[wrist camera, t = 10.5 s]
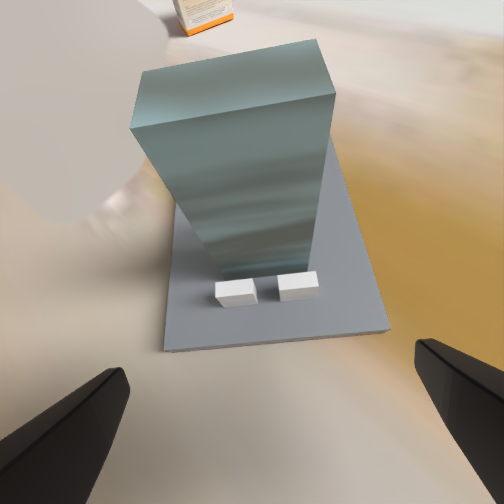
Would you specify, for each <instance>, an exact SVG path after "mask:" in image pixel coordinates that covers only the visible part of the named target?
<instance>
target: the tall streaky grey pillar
mask: <svg viewBox="0 0 504 504" xmlns="http://www.w3.org/2000/svg"><path fill="white" fill-rule="evenodd" d="M335 96H336V91H335V89H334V86H333V83H332V81H331V78H330V75H329V73H328V70H327V67H326V65H325V62H324V59H323V57H322V54H321V51H320V49H319V46H318V43H317V41H316V39H311V40H306V41H301V42H295V43H290V44H285V45H280V46H275V47H269V48H264V49H259V50H254V51H249V52H243V53H238V54H233V55H228V56H223V57H217V58H212V59H207V60H202V61H196V62H191V63H186V64H181V65H176V66H170V67H165V68H160V69H155V70H150V71H144V72H142V76H141V81H140V85H139V90H138V94H137V98H136V103H135V107H134V112H133V116H132V121H131V125H130V130H131V132H132V133H133V135H134V136H135V138H136V139H137V141H138V142H139V144H140V146H141V147H142V149H143V150H144V152H145V154H146V155H147V157H148V158H149V160H150V161H151V163H152V165H153V166H154V168H155V169H156V171H157V173H158V174H159V176H160V177H161V179H162V180H163V182H164V184H165V185H166V187H167V188H168V190H169V191H170V193H171V195H172V196H173V198H174V199H175V201H176V202H177V204H178V206H179V207H180V209H181V210H182V212H183V214H184V215H185V217H186V218H187V220H188V221H189V223H190V225H191V226H192V228H193V229H194V231H195V232H196V234H197V236H198V237H199V239H200V240H201V242H202V244H203V245H204V247H205V248H206V250H207V251H208V253H209V255H210V256H211V258H212V259H213V261H214V262H215V264H216V266H217V267H218V269H219V270H220V272H221V273H222V275H223V277H224V278H225V280H226V281H233V280H241V279H250V278H259V277H268V276H276V275H285V274H294V273H302V272H307V271H308V264H309V258H310V252H311V246H312V239H313V233H314V227H315V221H316V214H317V208H318V202H319V196H320V190H321V183H322V177H323V171H324V165H325V158H326V152H327V146H328V140H329V134H330V127H331V121H332V115H333V109H334V102H335Z"/></svg>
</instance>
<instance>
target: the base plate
mask: <svg viewBox="0 0 504 504" xmlns="http://www.w3.org/2000/svg"><path fill="white" fill-rule="evenodd" d="M389 330H391V327H390V324H389V320H388V317H387V314H386V311H385V308H384V304H383V301H382V298H381V295H380V292H379V289H378V285H377V282H376V279H375V276H374V273H373V269H372V266H371V263H370V260H369V257H368V254H367V250H366V247H365V244H364V241H363V238H362V235H361V231H360V228H359V225H358V222H357V219H356V215H355V212H354V209H353V206H352V203H351V200H350V196H349V193H348V190H347V187H346V184H345V180H344V177H343V174H342V171H341V168H340V165H339V161H338V158H337V155H336V152H335V149H334V145H333V142H332V139H331V136H330V134H329V140H328V146H327V152H326V158H325V165H324V171H323V177H322V183H321V190H320V196H319V202H318V208H317V214H316V221H315V227H314V233H313V239H312V246H311V252H310V258H309V264H308V271H307V272H302V273H294V274H285V275H276V276H268V277H259V278H250V279H241V280H233V281H226V280H225V278H224V277H223V275H222V273H221V272H220V270H219V269H218V267H217V266H216V264H215V262H214V261H213V259H212V258H211V256H210V255H209V253H208V251H207V250H206V248H205V247H204V245H203V244H202V242H201V240H200V239H199V237H198V236H197V234H196V232H195V231H194V229H193V228H192V226H191V225H190V223H189V221H188V220H187V218H186V217H185V215H184V214H183V212H182V210H181V209H180V207H179V206H178V204H177V202H176V208H175V220H174V232H173V243H172V255H171V267H170V279H169V290H168V302H167V314H166V326H165V337H164V349H163V350H164V351H168V352H172V353H174V352H184V351H195V350H206V349H217V348H228V347H239V346H249V345H260V344H271V343H282V342H293V341H304V340H314V339H325V338H336V337H347V336H358V335H369V334H379V333H385V332H387V331H389Z"/></svg>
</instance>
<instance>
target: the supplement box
mask: <svg viewBox="0 0 504 504" xmlns="http://www.w3.org/2000/svg"><path fill="white" fill-rule="evenodd" d="M173 4H174V7H175V10H176V13H177V16H178V20H179V23H180V25H181V27H182V28H183V29H184V31H185V32H186V33H187V35H188V36H191V35H193V34H195V33H198V32H200V31H203V30H205V29H208V28H210V27H213V26H215V25H218V24H221V23H223V22H226V21H228V20H231V19H233V18H234V16H233V10H232V3H231V0H173Z"/></svg>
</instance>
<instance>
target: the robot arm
mask: <svg viewBox="0 0 504 504" xmlns="http://www.w3.org/2000/svg"><path fill="white" fill-rule="evenodd" d="M414 364H415V368H416V371H417V373H418V375H419V377H420V379H421V381H422V382H423V384H424V386H425V388H426V390H427V392H428V394H429V396H430V397H431V399H432V401H433V403H434V405H435V407H436V409H437V411H438V412H439V414H440V416H441V418H442V420H443V422H444V423H445V425H446V427H447V429H448V430H449V432H450V433H451V435H452V436H453V438H454V440H455V441H456V443H457V444H458V446H459V447H460V449H461V450H462V452H463V453H464V455H465V456H466V458H467V459H468V461H469V462H470V464H471V465H472V467H473V469H474V470H475V472H476V473H477V475H478V476H479V478H480V479H481V481H482V482H483V484H484V485H485V487H486V488H487V490H488V491H489V493H490V494H491V496H492V498H493V499H494V501H495V502H496V504H504V371H502V370H499V369H497V368H495V367H493V366H491V365H489V364H487V363H484V362H482V361H480V360H478V359H476V358H474V357H471V356H469V355H467V354H465V353H463V352H461V351H459V350H456V349H454V348H452V347H450V346H448V345H446V344H443V343H441V342H439V341H437V340H435V339H431V338H429V339H419V340H417V341H416V343H415V359H414ZM129 395H130V386H129V383H128V380H127V378H126V375H125V372H124V370H123V369H122V368H120V367H116V368H109V369H106V370H105V371H103V372H102V373H100V374H99V375H97V376H96V377H95V378H93V379H92V380H90V381H89V382H87V383H86V384H84V385H83V386H81V387H80V388H78V389H77V390H75V391H74V392H72V393H71V394H69V395H68V396H66V397H65V398H63V399H62V400H60V401H59V402H57V403H56V404H54V405H53V406H51V407H50V408H48V409H47V410H45V411H44V412H42V413H41V414H39V415H38V416H36V417H35V418H33V419H32V420H30V421H29V422H27V423H26V424H25V425H23V426H22V427H20V428H19V429H17V430H16V431H14V432H13V433H11V434H10V435H8V436H7V437H5V438H4V439H2V440H1V441H0V504H86V502H87V500H88V498H89V496H90V493H91V491H92V489H93V487H94V484H95V482H96V480H97V478H98V476H99V473H100V471H101V469H102V467H103V464H104V462H105V460H106V458H107V455H108V453H109V451H110V448H111V446H112V443H113V440H114V438H115V435H116V432H117V429H118V426H119V424H120V421H121V418H122V415H123V412H124V409H125V407H126V404H127V401H128V398H129Z"/></svg>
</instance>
